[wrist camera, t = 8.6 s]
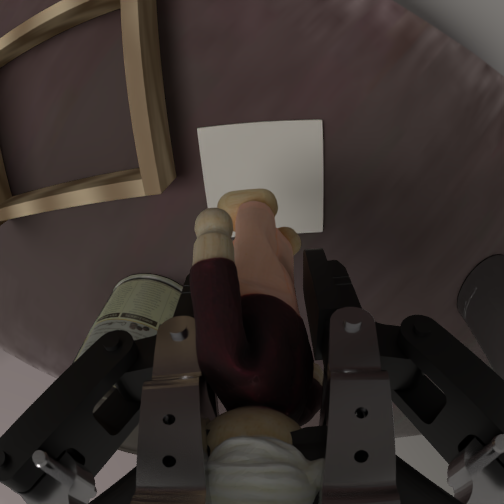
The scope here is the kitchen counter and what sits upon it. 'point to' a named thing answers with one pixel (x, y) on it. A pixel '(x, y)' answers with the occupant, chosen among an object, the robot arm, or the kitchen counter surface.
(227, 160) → the tile
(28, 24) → the cold frame
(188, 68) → the kitchen counter surface
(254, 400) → the grandmother figurine
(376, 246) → the kitchen counter surface
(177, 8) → the kitchen counter surface
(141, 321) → the coffee can
